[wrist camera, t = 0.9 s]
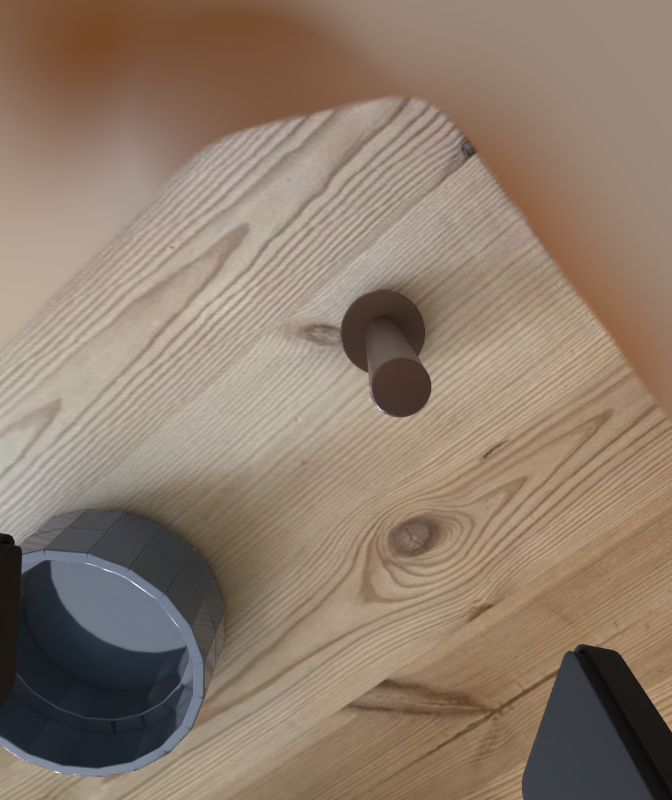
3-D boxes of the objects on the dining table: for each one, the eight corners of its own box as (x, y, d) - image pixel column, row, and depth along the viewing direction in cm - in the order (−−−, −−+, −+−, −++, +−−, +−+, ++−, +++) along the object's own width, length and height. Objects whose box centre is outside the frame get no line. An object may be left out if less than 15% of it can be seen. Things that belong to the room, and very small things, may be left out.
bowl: (-29, 531, 37) (-101, 581, 31) (187, 481, 36) (154, 524, 30) (55, 718, 41) (4, 794, 35) (255, 679, 39) (237, 752, 33)
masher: (332, 301, 32) (310, 335, 18) (412, 280, 32) (459, 297, 17) (352, 379, 33) (347, 472, 19) (430, 360, 33) (488, 439, 18)
